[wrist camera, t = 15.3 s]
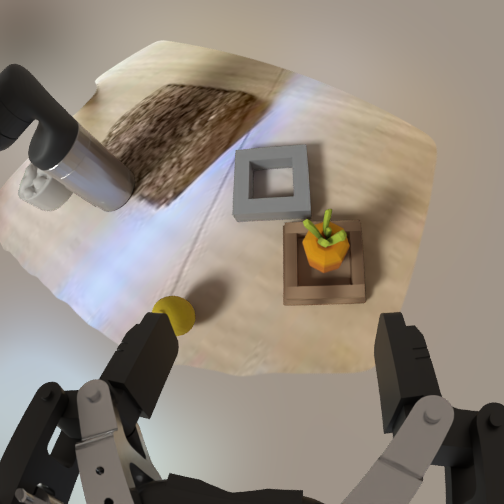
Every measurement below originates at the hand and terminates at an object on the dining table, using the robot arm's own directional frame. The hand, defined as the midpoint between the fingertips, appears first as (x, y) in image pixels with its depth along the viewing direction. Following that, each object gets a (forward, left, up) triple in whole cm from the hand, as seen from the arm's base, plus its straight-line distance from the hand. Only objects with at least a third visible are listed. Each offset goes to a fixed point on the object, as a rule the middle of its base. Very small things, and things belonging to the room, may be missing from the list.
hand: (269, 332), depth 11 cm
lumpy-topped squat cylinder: (-53, +28, -31) cm, 67 cm away
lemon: (-17, +2, -31) cm, 35 cm away
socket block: (-4, +22, -31) cm, 38 cm away
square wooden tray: (+3, +9, -31) cm, 32 cm away
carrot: (+3, +9, -29) cm, 31 cm away
